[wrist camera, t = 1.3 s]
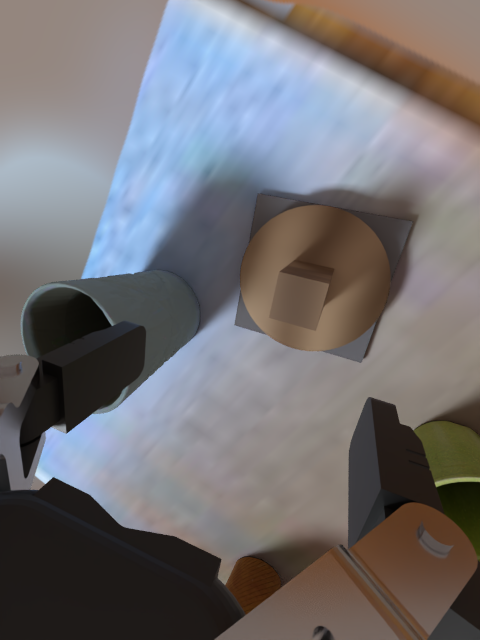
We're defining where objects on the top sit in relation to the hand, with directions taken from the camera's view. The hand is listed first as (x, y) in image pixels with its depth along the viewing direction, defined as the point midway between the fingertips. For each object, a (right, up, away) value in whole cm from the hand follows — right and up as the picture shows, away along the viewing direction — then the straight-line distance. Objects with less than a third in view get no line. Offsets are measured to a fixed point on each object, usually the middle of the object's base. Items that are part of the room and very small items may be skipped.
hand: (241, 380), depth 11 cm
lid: (+6, +6, +16) cm, 18 cm away
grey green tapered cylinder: (-8, +3, +22) cm, 24 cm away
